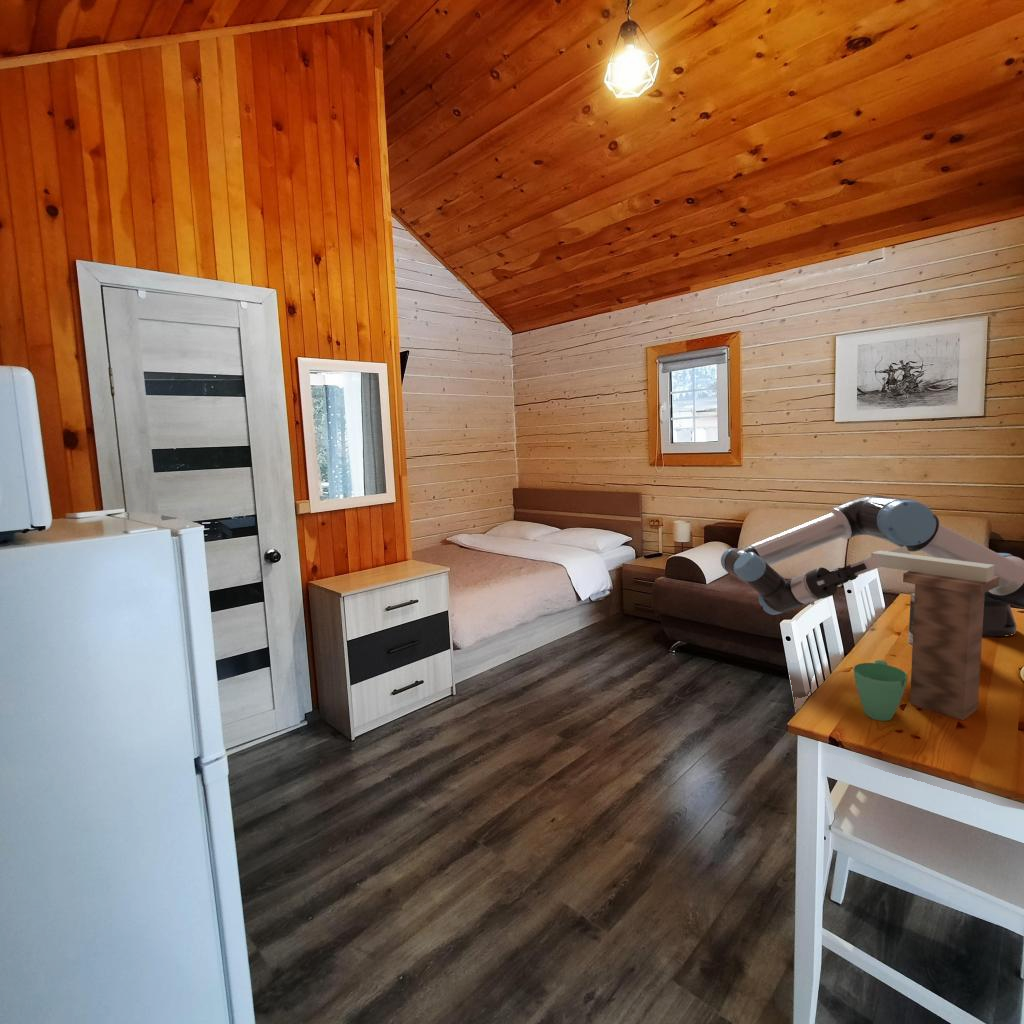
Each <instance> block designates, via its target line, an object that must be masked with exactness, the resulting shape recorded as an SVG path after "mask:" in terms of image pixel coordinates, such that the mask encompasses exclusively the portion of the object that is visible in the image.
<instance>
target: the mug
mask: <svg viewBox="0 0 1024 1024" xmlns="http://www.w3.org/2000/svg"><path fill="white" fill-rule="evenodd" d="M853 675H854V681H855V687H856V689H857V693H858V697H859V700H860V703H861V705H862V708H863V711H864V713H865V715H866V716H867V717H868V718H870V719H873V720H876V721H881V722H883V721H885V722H887V721H890V720H892V718H893V716H894V715H895V713H896V712H897V709H898V707H899V705H900V703H901V701H902V698H903V695H904V693H905V690H906V688H907V687H906V686H907V684H908V683H907V682H908V677H909V675H908V674H907V672H905V671H904V670H902V669H900V668H897V667H895V666H892V665H888V663H887V661H884V660H881V659H879V660H875V661H874V662H864V663H858V664H856V665H854V666H853Z"/></svg>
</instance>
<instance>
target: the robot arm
mask: <svg viewBox="0 0 1024 1024" xmlns="http://www.w3.org/2000/svg"><path fill="white" fill-rule="evenodd" d="M857 536H870V537H874V538H878V539H881V540H883V541H887V542H889V543H891V544H893V545H896V546H898V548H895V549H893V550H890V551H889V552H896V553H904V554H911V553H915V552H922V553H924V554H926V555H928V556H929V557H936V558H944V559H952V560H960V561H968V562H976V563H984V564H992V565H995V568H994V576H999V586H997V587H995V588H993V589H991V590H989V591H987V592H985V597H984V613H983V630H982V636H983V637H985V635H987V636H986V637H994V636H1005V635H1011V634H1014V633H1016V634H1017V623H1016V621H1015V617H1014V615H1013V611H1012V608H1011V605H1013V606H1015V607H1019V608H1021V609H1024V559H1022V558H1021V557H1019V556H1014V555H1013V554H1011V553H1007V552H996V551H994V550H992V549H990V548H988V547H986V546H985V545H982V544H981V543H978V542H977V541H974V540H972V539H970V538H969V537H967V536H964V535H963V534H961V533H959V532H957V531H955V530H953V529H951V528H949V527H948V526H945V525H943V524H942V523H940V518H939V517H938V516H937V514H935V513H934V511H932V510H931V508H929V507H928V506H927V505H926V504H924V503H922V502H919V501H918V500H915V499H910V498H898V497H892V496H884V495H878V494H876V495H875V494H874V495H867V496H862V497H859V498H856V499H854V500H850V501H849V502H846V503H843V504H841V505H838V506H835V507H833V508H831V509H830V510H829V512H828V513H827V514H825V515H823V516H820V517H817V518H814V519H813V520H810V521H807V522H805V523H803V524H799V525H798V526H795V527H792V528H790V529H788V530H785V531H783V532H780V533H778V534H776V535H773V536H769V537H768V538H765V539H763V540H760V541H757V542H755V543H752V544H750V545H748V546H747V545H746V546H744V547H742V548H735V547H733V548H728V549H726V550H725V551H724V552H723V553H722V554H721V556H720V557H721V558H720V565H721V567H722V569H723V570H725V572H727V573H728V574H729V575H731V576H734V577H735V578H737V579H738V580H740V581H742V582H743V583H745V584H747V585H748V586H749V587H750V588H752V589H753V590H754V591H755V592H757V594H758V602H759V605H760V606H761V607H762V609H763V611H764V612H765V613H767V614H769V615H773V616H775V615H780V614H785V613H787V612H788V613H789V612H790V611H792V610H794V609H797V608H799V607H801V606H806V605H808V604H810V605H811V606H814V605H815V604H816V603H815V602H817V601H820V600H821V599H822V600H823V599H826V598H829V597H832V596H834V595H836V594H837V591H838V586H841V585H843V584H846V583H849V581H854V580H856V579H857V578H859V575H862V574H865V573H867V572H870V571H873V570H876V569H879V568H883V567H882V566H884V564H883V563H882V561H881V559H880V557H879V555H875V556H873V557H868V558H865V559H863V560H860V561H857V562H855V563H852V564H849V565H846V566H843V567H837V568H835V569H832V570H831V569H830V570H829V569H827V568H825V567H820V566H819V567H817V568H814V569H812V570H810V571H808V572H804V573H802V574H799V575H797V576H794V577H792V578H789V579H785V578H784V577H783V576H782V575H781V574H779V573H778V572H777V571H776V570H775V569H774V568H773V567H772V565H774V564H777V563H780V562H782V561H785V560H787V559H790V558H793V557H795V556H798V555H800V554H802V553H803V554H804V553H805V552H808V551H809V550H810V551H811V550H813V549H815V548H818V547H821V546H823V545H826V544H828V543H831V542H833V541H835V540H838V539H844V540H847V539H851V538H853V537H857Z"/></svg>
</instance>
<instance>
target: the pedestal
mask: <svg viewBox="0 0 1024 1024" xmlns="http://www.w3.org/2000/svg"><path fill="white" fill-rule="evenodd" d="M902 575H903V577H902V582H903V583H904V584H905V583H906V584H912V585H914V594H915V600H914V623H913V645H912V647H911V649H912V651H911V668H910V669H911V671H910V672H911V673H910V696H909V698H910V699H909V704H910V705H914V706H916V707H920V708H922V709H926V710H930V711H932V712H935V713H937V714H938V713H939V714H942V715H944V716H948V717H950V718H955V719H958V720H960V721H961V720H962V721H965V720H966V719H967V718H968V717H970V716H971V715H972V714H974V713H975V712H976V711H977V710H978V708H979V693H980V678H981V677H980V675H981V662H982V661H981V658H982V646H983V642H982V641H983V635H982V630H983V613H984V597H985V592H987V591H989V590H991V589H993V588H995V587H997V586H999V576H994V579H993V580H991V581H989V582H980V581H973V580H967V579H960V578H953V577H946V576H939V575H933V574H926V573H919V572H912V571H906V572H903V573H902Z"/></svg>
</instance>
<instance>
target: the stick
mask: <svg viewBox="0 0 1024 1024" xmlns="http://www.w3.org/2000/svg"><path fill="white" fill-rule="evenodd" d="M875 555H879V557H880V559H881V561H882V563H883V564H884V566H882V567H881V568H885V569H886V568H887V569H892V570H898V571H899V570H900V571H906V572H908V571H912V572H919V573H926V574H933V575H939V576H946V577H953V578H960V579H967V580H973V581H980V582H989V581H991V580H993V579H994V568H995V565H992V564H984V563H976V562H968V561H960V560H952V559H944V558H936V557H932V556H929V555H928V556H926V555H919V554H912V553H910V554H904V553H896V552H890V551H886V550H881V549H880V550H877V551H874V552H871V555H870V556H871V557H873V556H875Z"/></svg>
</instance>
